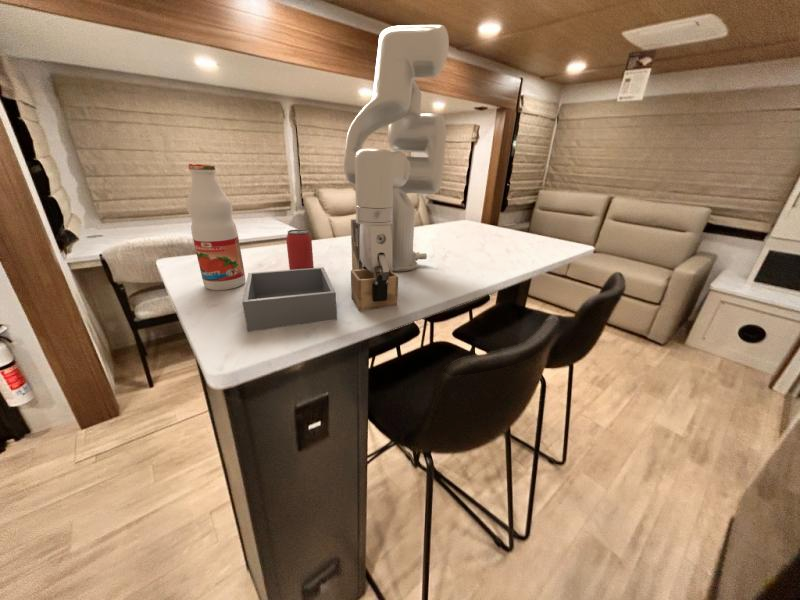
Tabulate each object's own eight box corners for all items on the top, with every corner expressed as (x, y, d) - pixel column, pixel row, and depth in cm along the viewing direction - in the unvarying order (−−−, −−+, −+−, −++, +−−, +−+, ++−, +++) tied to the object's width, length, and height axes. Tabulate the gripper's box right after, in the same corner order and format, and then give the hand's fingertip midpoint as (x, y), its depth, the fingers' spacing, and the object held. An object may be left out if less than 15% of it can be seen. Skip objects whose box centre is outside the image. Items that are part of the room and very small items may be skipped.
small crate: (387, 294, 76) (388, 267, 73) (397, 305, 70) (398, 276, 67) (351, 298, 73) (350, 270, 70) (358, 310, 67) (358, 280, 64)
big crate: (325, 290, 77) (323, 267, 75) (337, 319, 63) (335, 292, 61) (252, 297, 72) (248, 272, 69) (247, 331, 57) (242, 301, 55)
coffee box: (382, 285, 82) (383, 224, 75) (359, 288, 79) (358, 225, 73) (372, 274, 89) (373, 218, 83) (351, 276, 87) (349, 218, 81)
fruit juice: (253, 279, 82) (234, 165, 71) (232, 292, 74) (207, 164, 62) (219, 276, 83) (195, 163, 72) (195, 289, 74) (164, 163, 63)
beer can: (310, 277, 85) (306, 234, 80) (286, 276, 85) (281, 233, 80) (316, 270, 91) (313, 229, 86) (294, 269, 91) (290, 228, 86)
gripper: (406, 222, 58) (402, 306, 65) (379, 209, 72) (378, 279, 79) (367, 223, 55) (368, 310, 62) (347, 209, 70) (349, 281, 77)
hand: (373, 292), depth 71 cm, fingers open, 8 cm apart
